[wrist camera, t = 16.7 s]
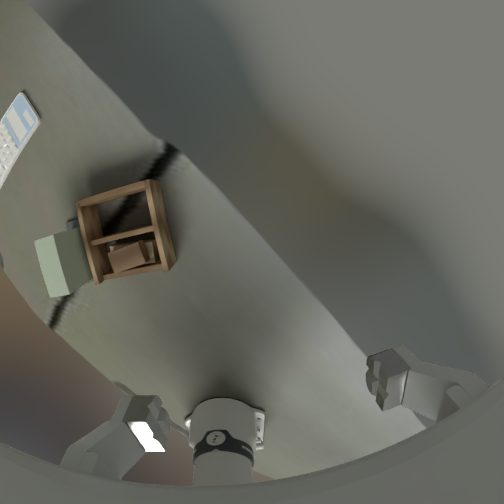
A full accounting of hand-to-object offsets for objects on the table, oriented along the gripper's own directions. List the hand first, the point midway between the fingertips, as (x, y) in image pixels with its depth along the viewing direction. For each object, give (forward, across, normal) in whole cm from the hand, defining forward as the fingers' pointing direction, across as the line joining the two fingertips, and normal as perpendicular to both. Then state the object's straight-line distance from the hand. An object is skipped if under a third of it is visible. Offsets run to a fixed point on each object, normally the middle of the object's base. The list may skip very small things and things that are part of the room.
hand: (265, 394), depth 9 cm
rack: (+37, +18, -5) cm, 42 cm away
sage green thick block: (+37, +28, -3) cm, 46 cm away
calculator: (+38, +48, -33) cm, 69 cm away
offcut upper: (+34, +18, -1) cm, 39 cm away
